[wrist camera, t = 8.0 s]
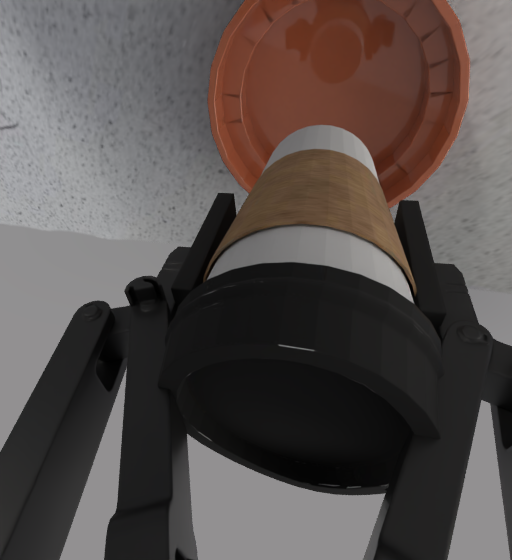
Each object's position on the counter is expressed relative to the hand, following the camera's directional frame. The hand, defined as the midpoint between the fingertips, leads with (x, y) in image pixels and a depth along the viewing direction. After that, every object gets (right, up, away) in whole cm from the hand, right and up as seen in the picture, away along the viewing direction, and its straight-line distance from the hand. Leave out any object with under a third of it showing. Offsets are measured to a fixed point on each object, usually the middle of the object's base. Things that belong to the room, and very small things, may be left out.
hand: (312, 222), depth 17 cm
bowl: (+4, +13, +14) cm, 20 cm away
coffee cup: (+1, +3, +3) cm, 5 cm away
